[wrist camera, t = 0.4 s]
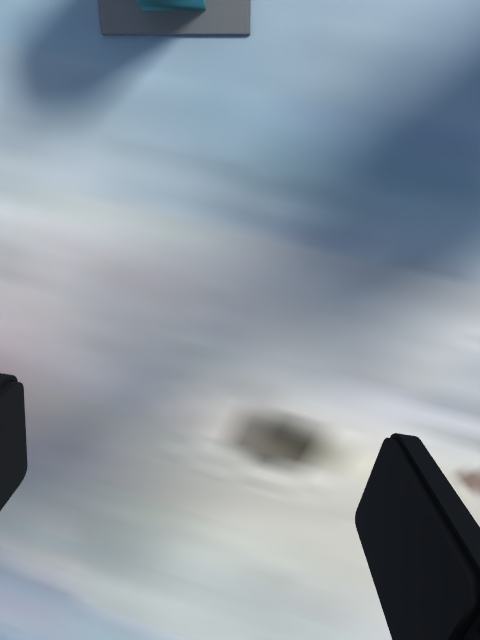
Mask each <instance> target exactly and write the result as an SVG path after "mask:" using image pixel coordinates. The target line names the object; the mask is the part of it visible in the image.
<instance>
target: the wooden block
mask: <svg viewBox="0 0 480 640" xmlns="http://www.w3.org/2000/svg"><path fill="white" fill-rule="evenodd" d="M137 2H138V3H139V5H140V7H141V8H142V10H206V0H137Z"/></svg>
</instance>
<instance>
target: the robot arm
mask: <svg viewBox="0 0 480 640" xmlns="http://www.w3.org/2000/svg"><path fill="white" fill-rule="evenodd" d="M26 471H27V449H26V428H25V408H24V388H23V384H22V383H20V382H18V381H17V378H16V377H15V376H14V375H8V374H1V373H0V511H1V509H2V508H3V507H4V505H5V504H6V503H7V501H8V500H9V498H10V497H11V496H12V494H13V493H14V492H15V490H16V489H17V488H18V486H19V485H20V483H21V482H22V480H23V479H24V477H25V474H26ZM355 524H356V528H357V531H358V535H359V538H360V541H361V544H362V547H363V550H364V553H365V556H366V559H367V562H368V566H369V569H370V572H371V575H372V578H373V581H374V584H375V587H376V590H377V593H378V596H379V600H380V603H381V606H382V609H383V612H384V615H385V618H386V621H387V624H388V627H389V631H390V634H391V637H392V640H480V527H479V526H478V524H477V523H476V521H475V520H474V518H473V517H472V515H471V514H470V512H469V511H468V509H467V508H466V506H465V505H464V504H463V502H462V501H461V499H460V498H459V496H458V495H457V493H456V492H455V490H454V489H453V487H452V486H451V484H450V483H449V481H448V480H447V478H446V477H445V475H444V474H443V473H442V471H441V470H440V468H439V467H438V465H437V464H436V462H435V461H434V459H433V458H432V456H431V455H430V453H429V452H428V450H427V449H426V447H425V446H424V444H423V443H422V442H421V440H420V439H419V438H418V437H416V436H411V435H404V434H397V433H395V434H392V435H391V437H390V438H386V439H385V440H384V441H383V443H382V446H381V449H380V451H379V454H378V456H377V459H376V461H375V464H374V467H373V469H372V472H371V474H370V477H369V480H368V482H367V485H366V487H365V490H364V492H363V495H362V498H361V500H360V503H359V505H358V508H357V510H356V515H355Z"/></svg>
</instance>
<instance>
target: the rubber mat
mask: <svg viewBox="0 0 480 640" xmlns="http://www.w3.org/2000/svg"><path fill="white" fill-rule="evenodd" d="M98 4H99V13H100V22H101V31H102V34H103V35H250V0H206V10H142V8H141V7H140V5H139V3H138V2H137V0H98Z"/></svg>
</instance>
